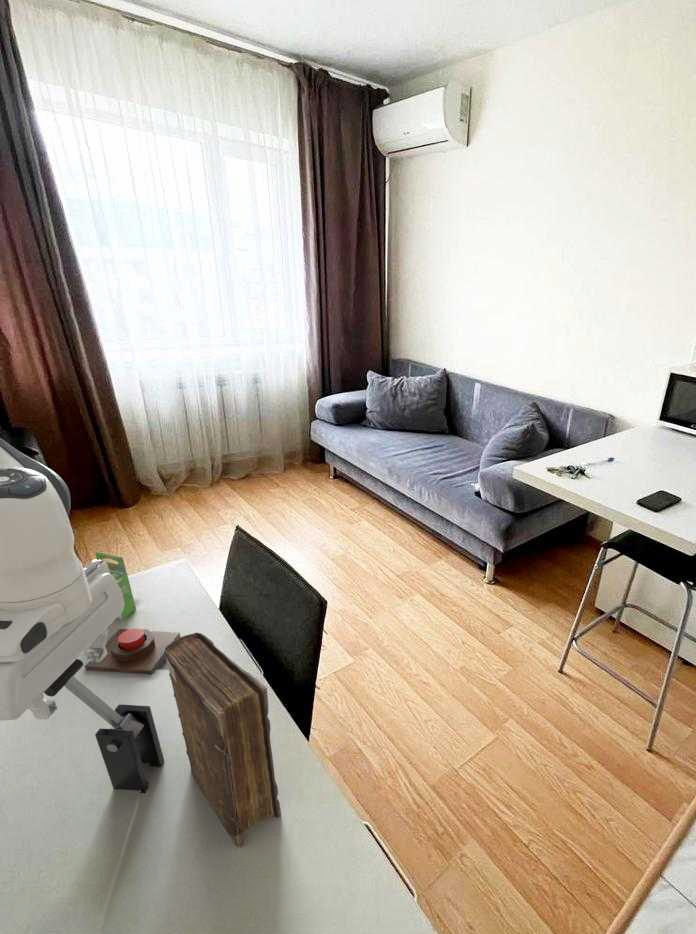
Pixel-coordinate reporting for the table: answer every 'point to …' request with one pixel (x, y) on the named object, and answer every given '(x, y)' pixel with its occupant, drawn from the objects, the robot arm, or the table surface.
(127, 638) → the button
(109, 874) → the table surface
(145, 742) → the bracket
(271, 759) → the book
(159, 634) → the button block
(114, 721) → the lever
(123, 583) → the ink box
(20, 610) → the robot arm
